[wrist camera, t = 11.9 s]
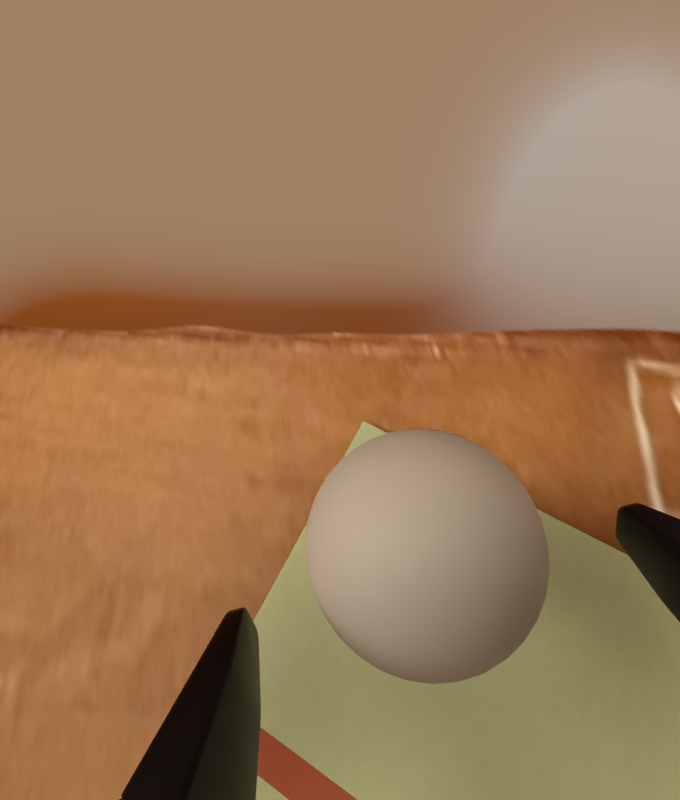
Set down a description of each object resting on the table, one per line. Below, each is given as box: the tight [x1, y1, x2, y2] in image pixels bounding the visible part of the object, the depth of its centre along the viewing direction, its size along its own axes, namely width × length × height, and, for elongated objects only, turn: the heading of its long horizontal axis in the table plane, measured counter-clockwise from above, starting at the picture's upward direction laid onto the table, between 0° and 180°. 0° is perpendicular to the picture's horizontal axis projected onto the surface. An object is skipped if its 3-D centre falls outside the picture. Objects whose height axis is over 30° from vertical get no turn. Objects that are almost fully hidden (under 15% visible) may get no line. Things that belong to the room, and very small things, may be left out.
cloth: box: [253, 421, 680, 800], centre depth 16 cm, size 20×16×1 cm
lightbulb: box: [305, 429, 550, 684], centre depth 13 cm, size 6×6×11 cm
